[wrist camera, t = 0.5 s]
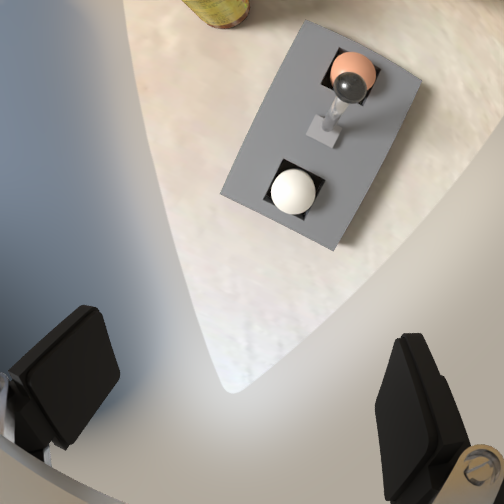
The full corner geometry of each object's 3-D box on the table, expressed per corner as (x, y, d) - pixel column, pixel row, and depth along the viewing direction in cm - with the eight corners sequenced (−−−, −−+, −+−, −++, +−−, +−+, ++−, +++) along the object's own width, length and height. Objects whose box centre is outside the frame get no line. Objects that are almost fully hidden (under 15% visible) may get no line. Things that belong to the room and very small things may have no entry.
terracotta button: (339, 53, 27) (342, 44, 24) (375, 72, 27) (382, 65, 24) (323, 85, 29) (325, 79, 26) (359, 104, 29) (365, 100, 26)
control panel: (305, 28, 28) (305, 16, 25) (413, 85, 28) (424, 79, 25) (226, 189, 36) (217, 195, 33) (331, 242, 36) (334, 253, 33)
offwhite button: (285, 161, 33) (283, 163, 29) (321, 179, 33) (323, 183, 29) (267, 196, 34) (263, 202, 31) (303, 214, 34) (302, 221, 31)
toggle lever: (318, 112, 28) (344, 60, 19) (341, 125, 28) (375, 76, 19) (308, 132, 28) (333, 82, 19) (332, 145, 28) (366, 99, 19)
